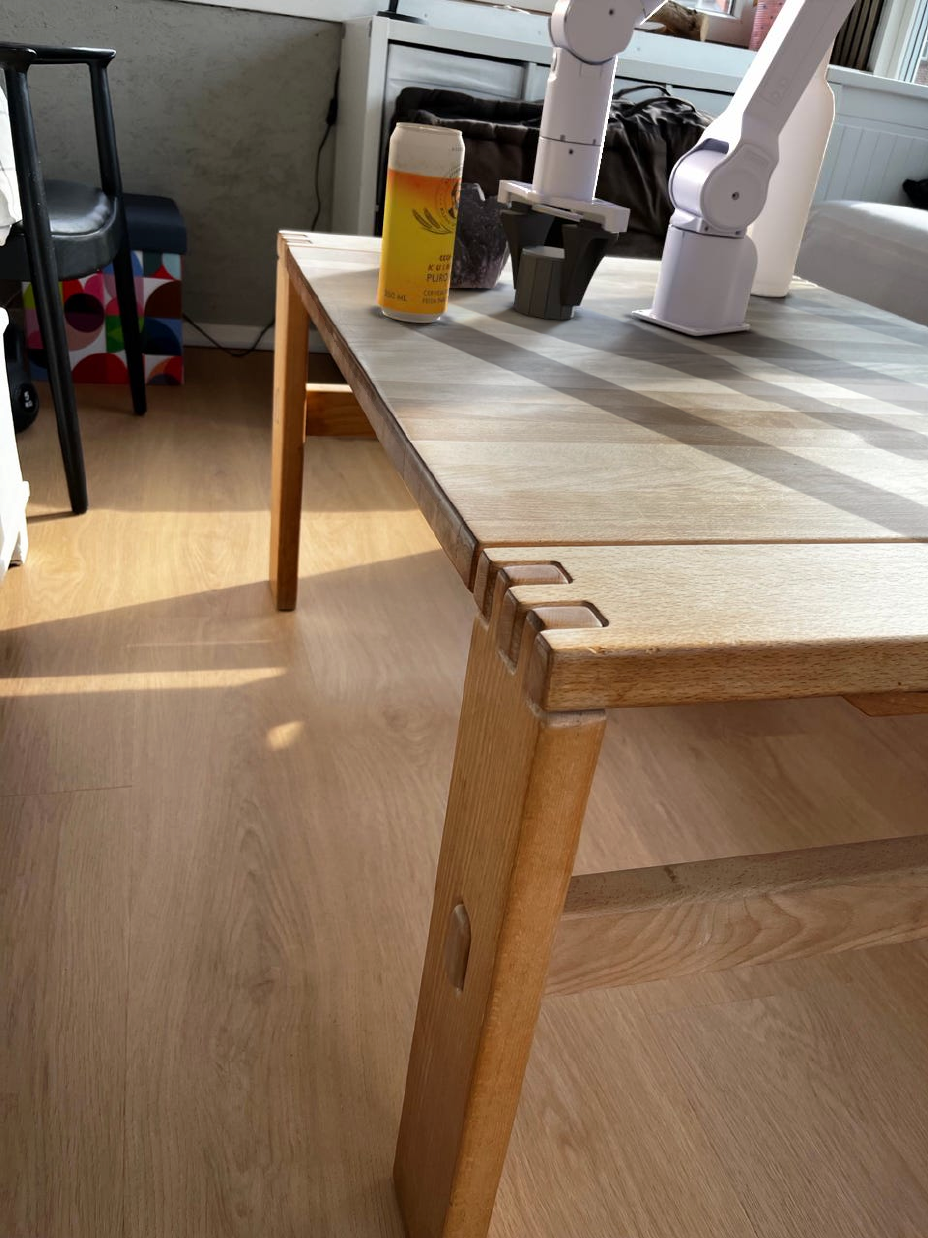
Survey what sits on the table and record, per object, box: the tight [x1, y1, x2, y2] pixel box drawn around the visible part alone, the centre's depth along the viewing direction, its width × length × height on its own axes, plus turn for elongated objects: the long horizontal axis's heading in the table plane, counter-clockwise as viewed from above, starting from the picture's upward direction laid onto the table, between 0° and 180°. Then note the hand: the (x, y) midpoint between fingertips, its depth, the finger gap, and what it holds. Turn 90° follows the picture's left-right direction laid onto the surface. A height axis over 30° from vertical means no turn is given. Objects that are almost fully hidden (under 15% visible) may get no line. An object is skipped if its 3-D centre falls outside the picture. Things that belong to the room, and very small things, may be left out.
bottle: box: [746, 38, 836, 298], centre depth 116 cm, size 8×8×30 cm
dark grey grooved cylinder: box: [512, 245, 577, 321], centre depth 96 cm, size 6×6×6 cm
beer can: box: [376, 122, 466, 324], centre depth 86 cm, size 6×6×15 cm
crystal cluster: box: [449, 182, 511, 289], centre depth 104 cm, size 13×14×10 cm
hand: (546, 297), depth 97 cm, fingers closed on dark grey grooved cylinder, 6 cm apart
